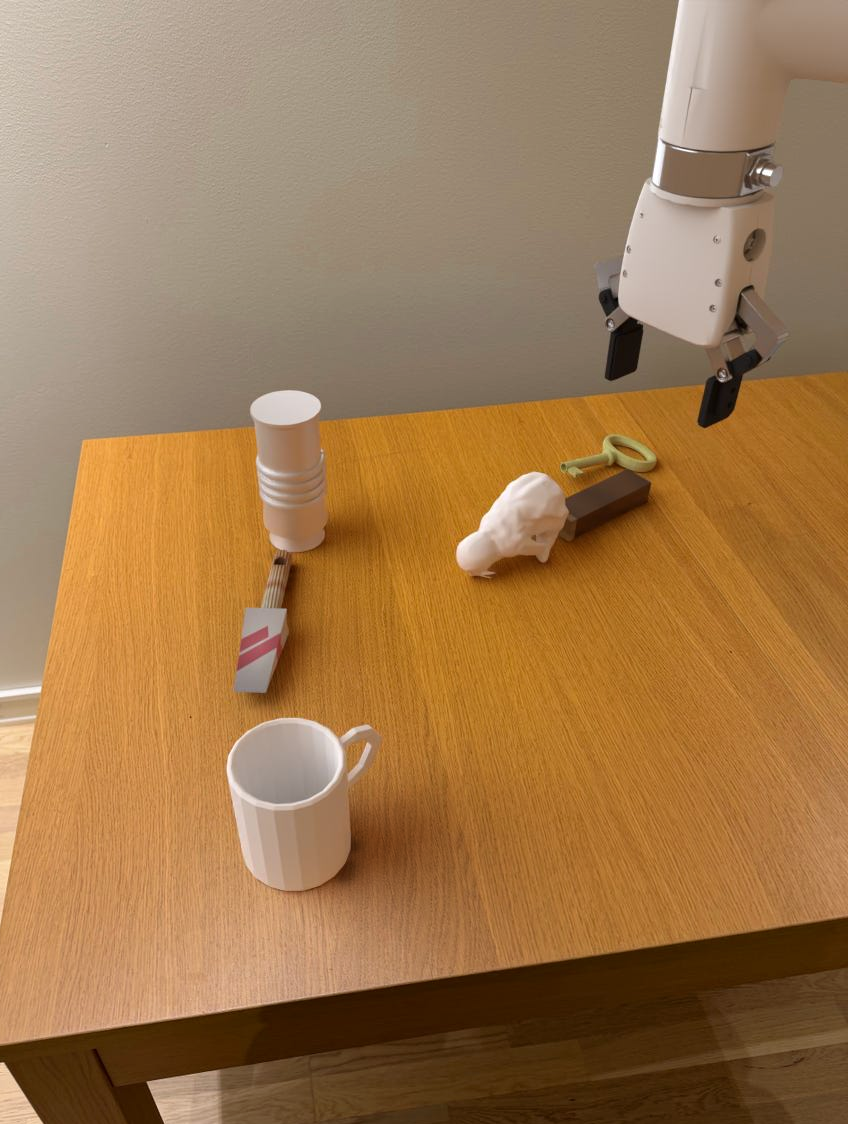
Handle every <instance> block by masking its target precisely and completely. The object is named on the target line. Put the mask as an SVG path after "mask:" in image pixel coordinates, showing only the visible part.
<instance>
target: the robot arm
mask: <svg viewBox="0 0 848 1124" xmlns="http://www.w3.org/2000/svg"><path fill="white" fill-rule="evenodd" d="M672 35H673V36H672V42H671V49H670V55H669V62H668V66H667V67H668V68H667V74H666V79H665V80H666V81H665V87H664V92H663V100H662V105H661V112H660V119H659V124H658V131H657V137H656V144H655V151H654V158H653V164H652V170H651V176H649V177H648V178H647V179H646V180H645V181H644V184H643V187H642V189H641V191H640V194H639V197H638V200H637V204H636V206H635V209H634V213H633V216H632V219H631V223H630V226H629V230H628V235H627V239H626V242H625V243H626V244H625V249H624V253H623V254H621V255H618V256H615V257H612V258H608V259H605V260H603V261H599V262H596V264H594V273H595V278H596V283H597V288H598V290H599V293H598V301H599V303H600V306H601V308H602V310H603V312H604V314H605V317H606V318H605V320H604V327H605V329H606V330H607V332H610V335H609V341H608V342H609V343H608V350H607V354H606V355H607V357H606V363H605V369H604V370H605V371H604V379H605V380H607V381H609V382H613V381H616V380H619V379H621V378H623V377H625V376H628V375H630V374H633V373H635V372H636V371H637V369H638V367H639V366H638V365H639V360H640V354H641V348H642V341H643V336H644V324H645V325H647V326H649V327H652V328H654V329H656V330H659V331H661V332H663V333H666V334H667V335H670V336H672V337H675V338H676V339H679V340H681V341H684V342H686V343H688V344H690V345H694V346H696V347H699V348H702V349H705V352H706V354H707V357H708V360H709V363H710V365H711V368H712V371H713V373H714V375H712V376H710V377H708V378H707V379H706V381H705V385H704V386H705V387H704V390H703V394H702V398H701V404H700V407H699V410H698V416H697V422H696V423H697V424H698V425H697V426H699V427H701V428H703V429H707V428H709V427H711V426H713V425H715V424H718V423H721V422H722V421H724V420H726V419H728V418H730V416H731V415H732V413H733V412H734V411H735V408H736V405H737V401H738V397H739V393H740V389H741V385H742V380H743V377H744V375H745V374H747V373H749V372H751V371H752V370H754V369H756V368H758V367H760V366H761V365H764V364H765V363H767V362H769V361H770V360H771V358H772V355H774V354H775V353H776V352H777V351H778V350H779V349H780V348H781V347H782V346H783V344H784V343H785V342H786V341H788V338H789V330H788V328H787V327H786V326H785V325H784V324H783V322H781V320H780V319H779V317H777V315H776V314H775V313H774V312H773V311H772V309H770V307H769V306H768V305H767V304H766V302H765V301H764V297H765V292H766V287H767V283H768V282H767V281H768V277H769V269H770V265H771V263H770V262H771V255H772V249H773V241H774V229H775V228H774V226H775V195H774V194H772V193H770V192H768V191H765V189H766V188H767V187H769V188H776V187H777V186H778V185H779V184H780V182H781V181H782V179H783V176H784V171H785V168H784V166H783V165H782V164H778V163H776V162H775V161H774V156H775V151H776V143H777V138H778V135H779V131H780V126H781V123H782V117H783V113H784V109H785V106H786V105H785V104H786V101H787V97H788V94H789V93H788V92H789V88H790V84H791V81H792V80H796V79H799V80H810V81H820V82H821V81H822V82H829V83H837V84H846V85H848V0H678V4H677V10H676V17H675V24H674V30H673V34H672ZM640 322H641V323H640ZM642 323H643V324H642ZM751 333H753V334H754V335H755V341H754V343H753V344H752V345H751V347H750V348H749V346H748V342H747V341H746V337H745V335H749V334H751ZM725 344H726V346H727V349H728V351H729V354H730V356H731V359H730V358H729V355H728V352H727V349H726V346H725Z"/></svg>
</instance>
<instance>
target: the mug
mask: <svg viewBox="0 0 848 1124" xmlns="http://www.w3.org/2000/svg"><path fill="white" fill-rule="evenodd" d="M383 739H384V737H383V736H382V735H381V734H380V733H379V732H377V730H375V729H374V728H373V727H372V726H370V725H369V723H368V724H364V725H359V726H355V727H352V728H351V729H349V730H348V731H347V732H345V733H344V734H343V735H342V736H340V737H339V736H337V734H336V733H334V731H333V730H332V729H331V728H330V727H327V726H326V725H323V724H322V723H320V722H318V721H316V720H311V719H308V718H307V719H306V718H302V717H280V718H276V719H272V720H267V721H264V722H262V723H260V724H258V725H256V726H254V727H252V728H251V729H248V730H247V731H246V732H245V733H244V734H243V735H242V736H241V737H240V738H239V739H237V740H236V741H235V743H234V745H233V747H232V748H231V750H230V751H229V754H228V756H227V761H226V770H225V771H226V775H227V781H228V787H229V792H230V796H231V802H232V806H233V812H234V817H235V822H236V828H237V832H238V838H239V842H240V847H241V852H242V856H243V859H244V860H243V861H244V865H245V866H246V867H247V869H248V870H249V871H250V873H251V874H252V876H253V877H254V878H255V879H257V880H258V881H260V882H262V884H265V885H266V886H267V887H269V888H272V889H276V890H281V891H283V892H304V891H307V890H310V889H313V888H317V887H320V886H322V885H324V884H325V883H327V882H328V881H330V880H331V879H332V878H334V877H335V876H336V875H337V874H338V873H339V872H340V870H341V869H342V868H343V867H344V866H345V864H346V862H347V860H348V858H349V855H350V852H351V847H352V846H351V845H352V840H351V839H352V834H351V833H352V832H351V816H350V815H351V814H350V795H349V790H350V789H351V788H353V787H354V786H355V785H356V784H357V783H358V782H359V780H360V779H362V778H363V776H364V775H365V774H366V773H367V772H368V771H369V770H370V769H371V768H372V765H373V763H374V761H375V758H376V756H377V753H378V751H379V749H380V746H381V744H382V741H383ZM363 741H366V744H365V747H364V750H363V752H362V754H361V756H360V759H359V761H358V762H357V763H356V765H355V766H354V767H353V768H352V769H351V770H350V771H349V772H348V764H347V763H348V760H347V759H348V758H347V751H346V749H347V748H349V747H350V746H351V745H353V744H357V743H359V742H363Z"/></svg>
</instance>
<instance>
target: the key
mask: <svg viewBox="0 0 848 1124" xmlns="http://www.w3.org/2000/svg"><path fill="white" fill-rule="evenodd" d="M616 445H617V446H622V447H626V448H630V449H632V450H634V451H636V452H638V453H639V454H640V455H642V456H643V457H644V458H645V460H640V459H636V458H634V457H631V456H629V455H627V454H625V453H624V452H622V451H620V450H618V449H617V448H616V447H615V446H616ZM614 463H616V464H617V465H619V466H621V467H622V468H624V469H629V470H631V471H632V472H636V473H637V472H638V473H648V472H650V471H652V470H654V468H655V467H656V465H657V456H656V454H655V452H653V451H652V450H651V449H650V448H648V447H647V446H646V445H644V444H643V443H641V442H639V441H637V440H635V439H633V438H631V437H628V436H626V435H622V434H618V433H612V434H608V435H606V436H605V437H604V440H603V442H602V452H601V453H598V454H594V455H590V456H586V457H580V458H576V459H572V460H567V461H563V462H560V466H559V468H560V469H559V470H560V472H562V473H563V474H566V473H569V474H570V476H572V477H573V478H576V479H577V478H578V477H583V476H584V473H585V472H584V471H582V470H583V469H587V468H591V467H596V466H601V465H604V466H606V467H611V466H612V465H613V464H614Z"/></svg>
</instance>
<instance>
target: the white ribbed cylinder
mask: <svg viewBox="0 0 848 1124" xmlns="http://www.w3.org/2000/svg"><path fill="white" fill-rule="evenodd" d="M249 408H250V409H249V411H250V412H249V413H250V417H251V418H252V420H253V422H254V423H253V424H254V431H255V440H256V448H257V449H256V450H257V455H256V457H255V467H256V476H257V479H258V481H257V484H258V488H259V498H260V499H261V501H262V513H263V516H262V517H263V526H264V527H265V529H266V530H267V531H268V532H269V541H270V544H271V545H272V546H273V547H274V548H276V549H277V550H287V552H290V553H302V552H308V551H310V550H313V549H315V548H317V547H318V546H321V544H322V542H324V540H325V539H326V538H325V537H326V531H325V529H324V527H326V526H327V524H328V521H329V513H328V509H327V507H328V506H327V501H326V495H327V493H328V490H327V489H328V480H327V479H328V478H327V463H326V453H325V451H324V449H323V448H322V444H321V429H320V428H321V427H320V415H321V413H322V404H321V401H320V399H318V397H316V395H313V394H311V393H308V392H306V391H301V390H294V389H293V390H291V389H288V390H277V391H272V392H269V393H266V394H263V395H261V396H260V397H258V398H256V399H255V400H254V401H253V402H252V404H251V405H250V407H249Z"/></svg>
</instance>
